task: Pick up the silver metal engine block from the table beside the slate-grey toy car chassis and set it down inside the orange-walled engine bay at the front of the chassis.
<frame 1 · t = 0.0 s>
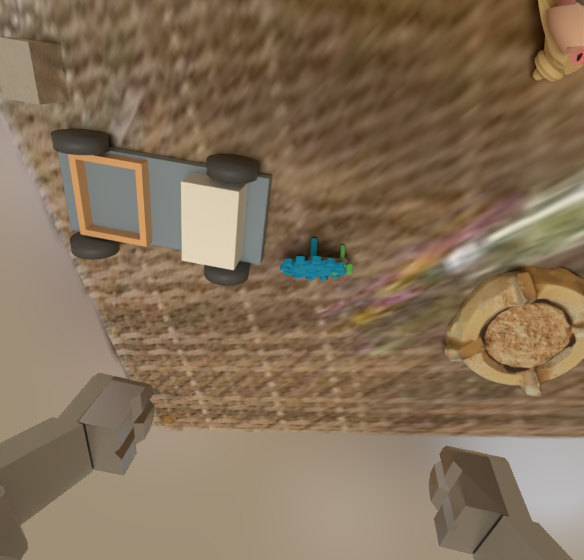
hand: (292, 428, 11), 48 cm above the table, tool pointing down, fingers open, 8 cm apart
engine block: (48, 70, 53), on the table
gear: (318, 257, 61), on the table
ashtray: (520, 327, 63), on the table
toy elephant: (558, 29, 43), on the table
chassis: (168, 201, 60), on the table
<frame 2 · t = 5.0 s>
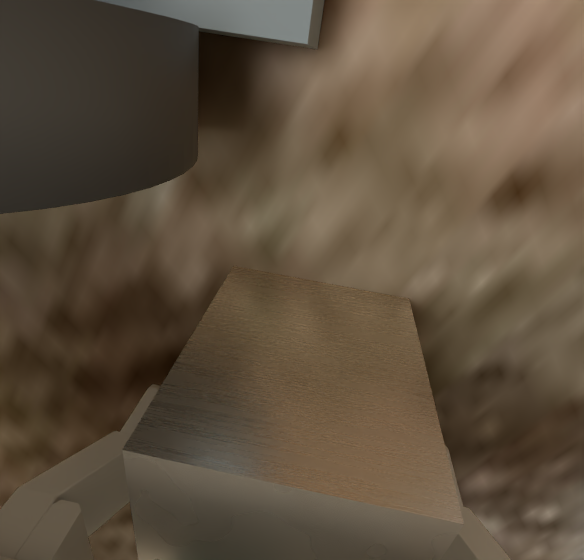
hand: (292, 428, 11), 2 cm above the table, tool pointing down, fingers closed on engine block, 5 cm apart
engine block: (302, 373, 12), on the table, touching gripper
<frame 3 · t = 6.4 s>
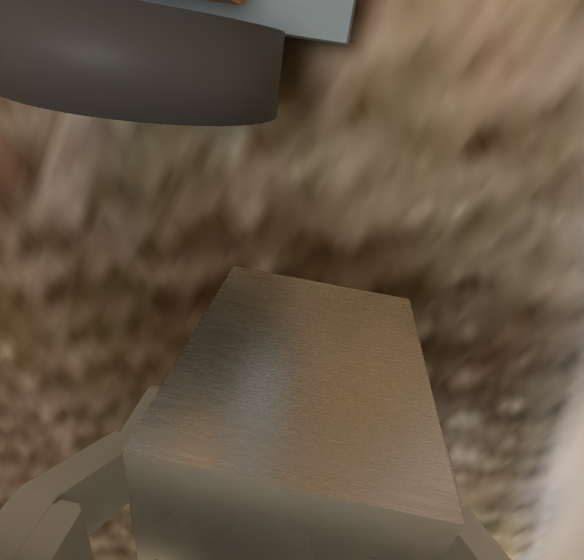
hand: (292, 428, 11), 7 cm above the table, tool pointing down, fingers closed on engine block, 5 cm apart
engine block: (301, 373, 12), point 5 cm above the table, touching gripper
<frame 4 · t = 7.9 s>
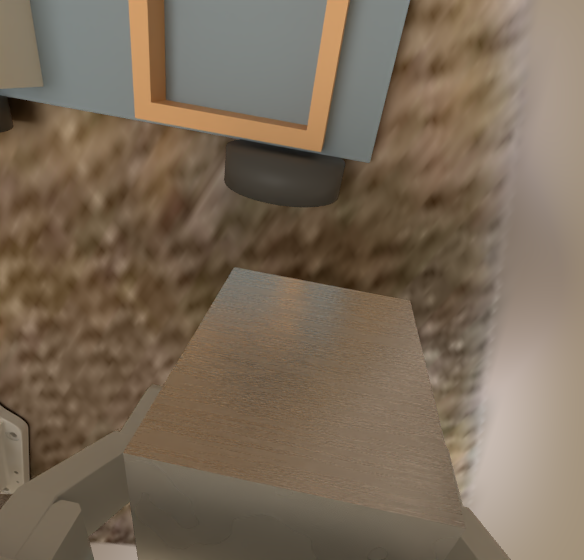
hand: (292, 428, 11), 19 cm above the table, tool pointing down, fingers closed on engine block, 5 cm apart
engine block: (302, 374, 12), point 17 cm above the table, touching gripper
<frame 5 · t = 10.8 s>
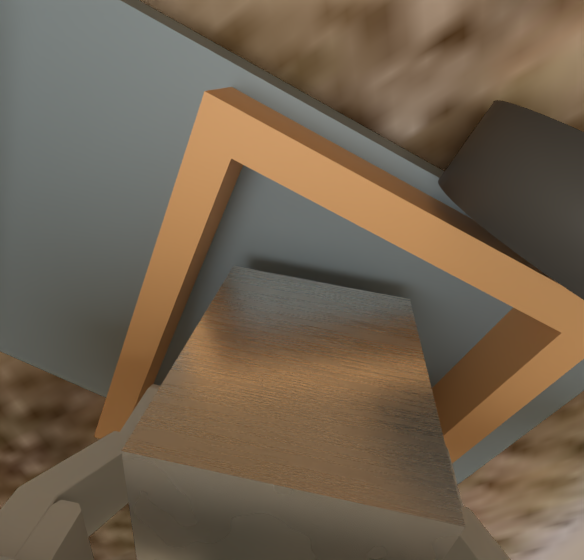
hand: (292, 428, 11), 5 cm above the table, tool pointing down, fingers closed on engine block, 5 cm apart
engine block: (302, 373, 12), point 3 cm above the table, touching gripper
chassis: (137, 231, 14), on the table
when the fingers open (5 cm above the table, at t = 11.5 s): engine block drops 1 cm, resting on chassis.
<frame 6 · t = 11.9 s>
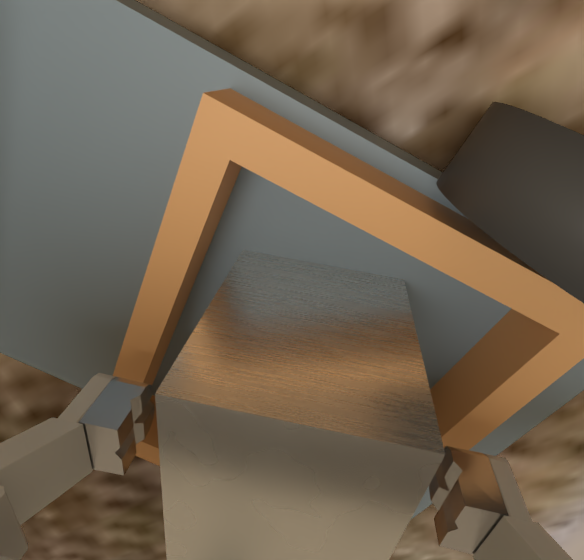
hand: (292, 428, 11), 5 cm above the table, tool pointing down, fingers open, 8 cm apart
engine block: (305, 351, 13), point 2 cm above the table, touching chassis
chassis: (136, 232, 14), on the table
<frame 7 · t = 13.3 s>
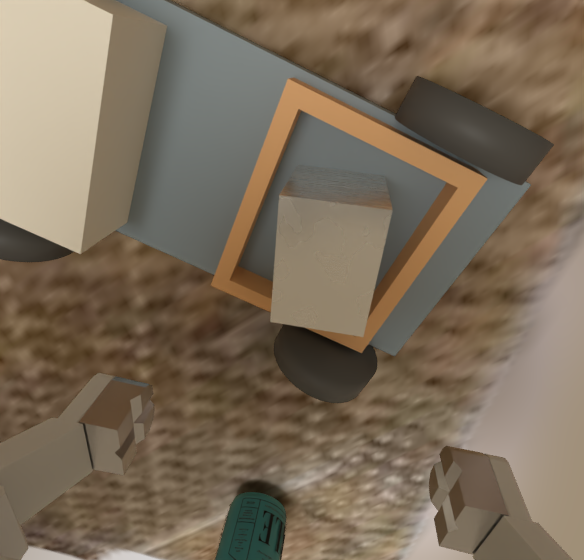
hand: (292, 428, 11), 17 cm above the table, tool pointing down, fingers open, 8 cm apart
engine block: (332, 226, 24), point 2 cm above the table, touching chassis
beverage bottle: (263, 493, 43), on the table
chassis: (231, 166, 25), on the table
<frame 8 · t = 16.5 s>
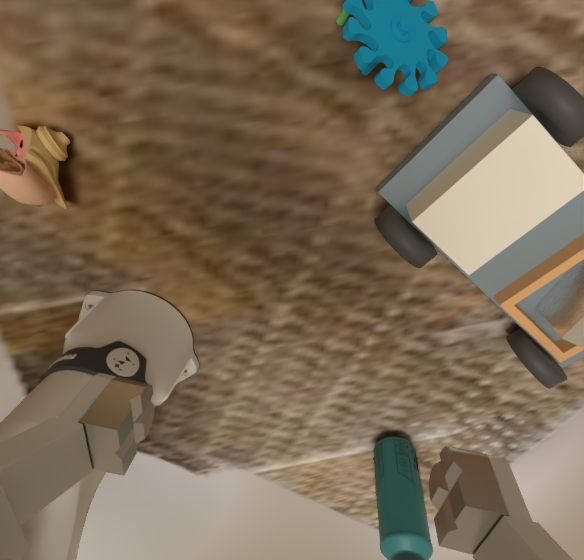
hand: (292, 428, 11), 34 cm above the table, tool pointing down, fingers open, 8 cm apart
engine block: (578, 290, 41), point 2 cm above the table, touching chassis
gear: (388, 32, 34), on the table
beverage bottle: (393, 440, 59), on the table
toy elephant: (53, 165, 45), on the table
chassis: (528, 238, 41), on the table
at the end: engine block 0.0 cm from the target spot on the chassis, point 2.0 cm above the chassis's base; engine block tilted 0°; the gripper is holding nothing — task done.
